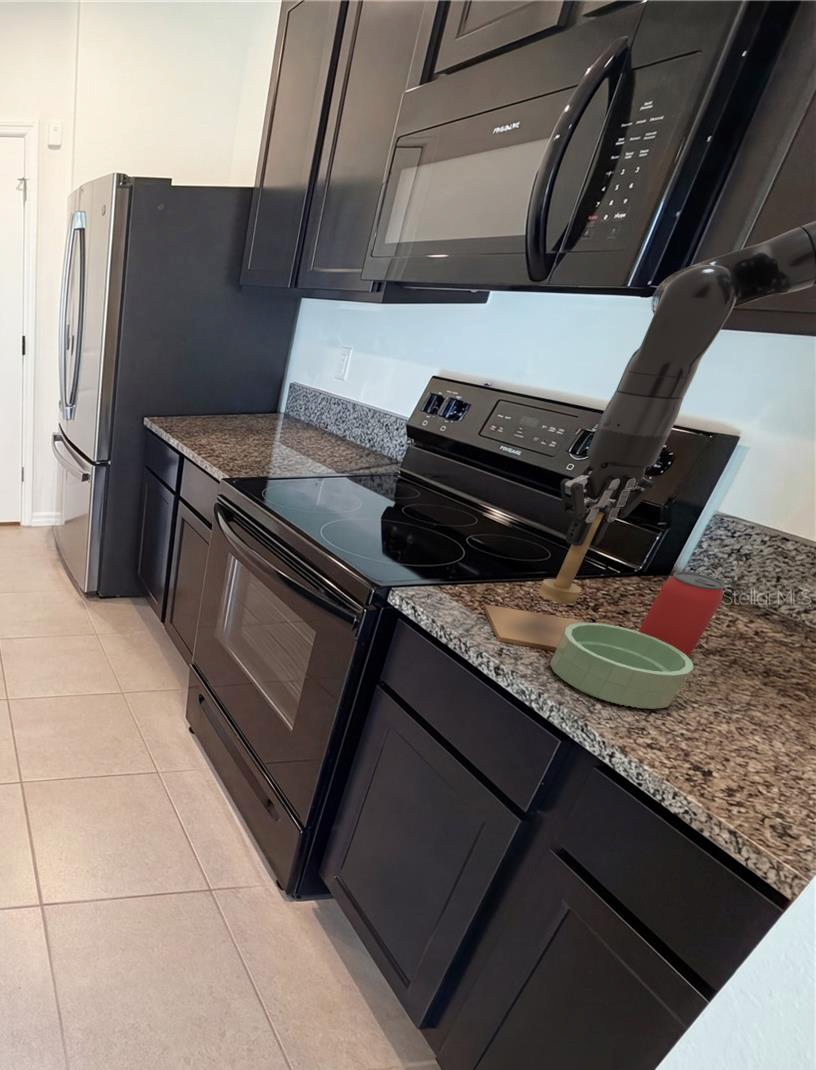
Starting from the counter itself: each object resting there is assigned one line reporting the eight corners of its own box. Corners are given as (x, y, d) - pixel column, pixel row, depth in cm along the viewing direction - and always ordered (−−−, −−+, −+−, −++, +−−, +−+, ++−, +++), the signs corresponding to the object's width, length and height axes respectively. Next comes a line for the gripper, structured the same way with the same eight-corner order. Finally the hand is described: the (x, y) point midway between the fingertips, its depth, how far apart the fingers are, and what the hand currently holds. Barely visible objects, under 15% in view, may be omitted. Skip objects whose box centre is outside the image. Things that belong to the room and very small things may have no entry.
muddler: (570, 593, 103) (609, 509, 96) (580, 606, 99) (621, 519, 92) (534, 587, 104) (570, 504, 98) (542, 600, 100) (580, 514, 94)
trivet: (581, 625, 107) (583, 620, 107) (607, 661, 97) (609, 656, 97) (482, 608, 112) (484, 604, 112) (497, 641, 102) (499, 636, 102)
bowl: (647, 669, 96) (667, 634, 93) (690, 722, 84) (714, 684, 82) (537, 649, 100) (553, 615, 97) (564, 697, 89) (582, 660, 86)
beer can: (681, 664, 97) (722, 593, 91) (626, 645, 102) (662, 576, 96) (695, 652, 100) (736, 582, 95) (641, 633, 105) (677, 566, 99)
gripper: (614, 434, 85) (561, 555, 93) (706, 433, 87) (645, 552, 95) (565, 421, 92) (519, 535, 100) (651, 421, 94) (599, 533, 102)
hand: (581, 543), depth 97 cm, fingers closed on muddler
